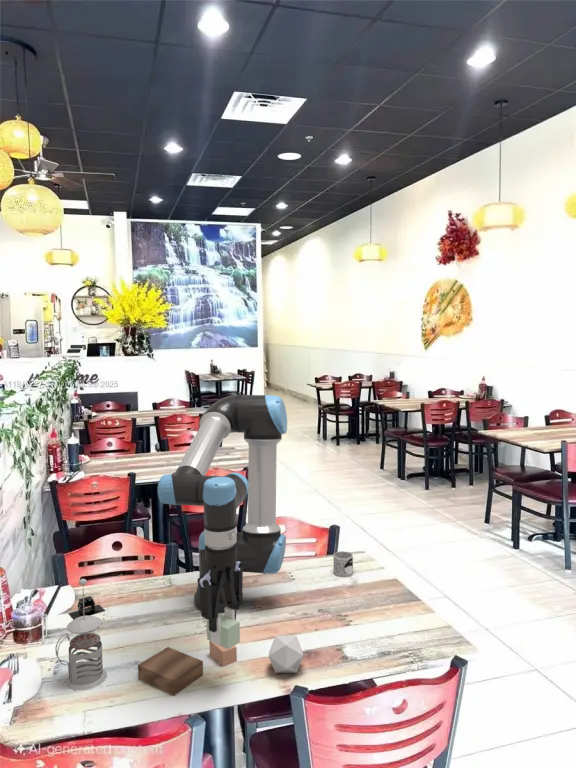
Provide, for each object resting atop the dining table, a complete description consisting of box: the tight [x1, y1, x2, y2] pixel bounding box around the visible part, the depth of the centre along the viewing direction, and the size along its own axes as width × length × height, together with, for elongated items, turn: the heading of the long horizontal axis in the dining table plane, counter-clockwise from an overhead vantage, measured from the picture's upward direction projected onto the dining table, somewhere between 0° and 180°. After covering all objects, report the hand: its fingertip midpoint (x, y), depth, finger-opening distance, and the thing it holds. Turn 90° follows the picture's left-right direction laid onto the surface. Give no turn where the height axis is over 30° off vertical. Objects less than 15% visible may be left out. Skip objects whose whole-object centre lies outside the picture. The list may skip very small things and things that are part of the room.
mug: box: [333, 551, 354, 578], centre depth 209 cm, size 10×7×7 cm, turn 149°
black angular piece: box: [68, 595, 106, 621], centre depth 180 cm, size 12×7×5 cm, turn 128°
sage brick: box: [206, 612, 241, 649], centre depth 142 cm, size 7×4×5 cm, turn 51°
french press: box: [54, 578, 108, 691], centre depth 144 cm, size 10×12×25 cm
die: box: [268, 635, 304, 674], centre depth 148 cm, size 8×9×10 cm
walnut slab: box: [137, 646, 204, 697], centre depth 145 cm, size 12×10×4 cm
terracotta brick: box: [208, 640, 238, 667], centre depth 154 cm, size 7×4×4 cm, turn 36°
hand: (223, 638), depth 142 cm, fingers closed on sage brick, 4 cm apart
